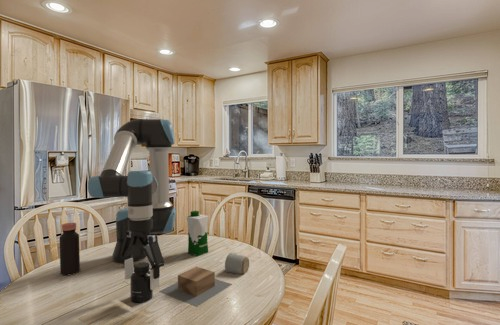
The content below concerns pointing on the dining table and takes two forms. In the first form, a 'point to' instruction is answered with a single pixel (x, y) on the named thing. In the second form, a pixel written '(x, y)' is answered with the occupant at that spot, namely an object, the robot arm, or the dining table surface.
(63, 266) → the vinegar
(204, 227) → the milk carton
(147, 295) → the supplement bottle
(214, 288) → the mat
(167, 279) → the dining table surface
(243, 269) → the ceramic mug
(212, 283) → the walnut block
